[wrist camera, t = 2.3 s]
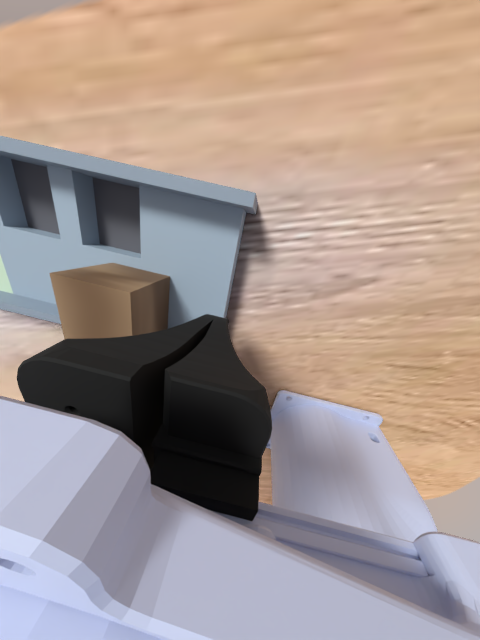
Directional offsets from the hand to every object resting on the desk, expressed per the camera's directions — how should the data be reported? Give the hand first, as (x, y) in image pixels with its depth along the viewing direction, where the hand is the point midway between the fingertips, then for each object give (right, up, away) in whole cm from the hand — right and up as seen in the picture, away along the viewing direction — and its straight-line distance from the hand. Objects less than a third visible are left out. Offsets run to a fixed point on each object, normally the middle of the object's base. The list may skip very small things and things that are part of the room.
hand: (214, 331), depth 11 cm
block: (-5, +2, +2) cm, 6 cm away
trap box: (-10, +6, +3) cm, 12 cm away
